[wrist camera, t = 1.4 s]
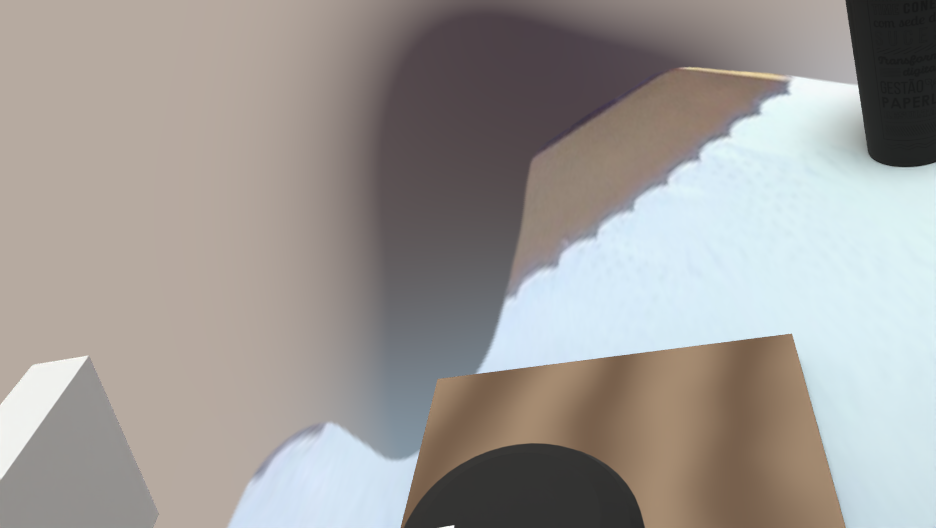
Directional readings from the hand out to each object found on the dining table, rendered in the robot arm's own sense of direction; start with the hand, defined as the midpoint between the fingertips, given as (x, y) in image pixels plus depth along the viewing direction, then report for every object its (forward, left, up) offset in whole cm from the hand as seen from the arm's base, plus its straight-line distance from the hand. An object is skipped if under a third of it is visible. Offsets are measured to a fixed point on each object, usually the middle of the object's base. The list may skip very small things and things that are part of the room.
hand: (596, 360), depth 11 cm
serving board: (+4, -17, -22) cm, 28 cm away
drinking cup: (-15, -42, -22) cm, 49 cm away
